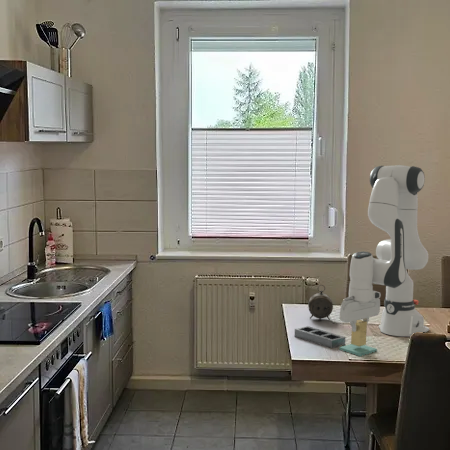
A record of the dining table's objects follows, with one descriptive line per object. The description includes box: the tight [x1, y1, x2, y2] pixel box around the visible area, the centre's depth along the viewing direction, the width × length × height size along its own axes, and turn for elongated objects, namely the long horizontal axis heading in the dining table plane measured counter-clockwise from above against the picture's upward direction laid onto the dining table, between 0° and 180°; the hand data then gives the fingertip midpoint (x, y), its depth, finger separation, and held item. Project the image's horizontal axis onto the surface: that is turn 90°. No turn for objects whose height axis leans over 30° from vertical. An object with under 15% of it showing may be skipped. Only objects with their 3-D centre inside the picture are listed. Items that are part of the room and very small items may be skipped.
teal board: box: [339, 343, 378, 357], centre depth 247 cm, size 10×10×1 cm
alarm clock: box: [307, 284, 334, 322], centre depth 290 cm, size 11×5×16 cm, turn 84°
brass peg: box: [350, 319, 368, 346], centre depth 247 cm, size 4×4×9 cm
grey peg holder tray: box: [294, 325, 346, 349], centre depth 260 cm, size 8×20×3 cm, turn 40°
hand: (359, 330), depth 246 cm, fingers closed on brass peg, 4 cm apart
